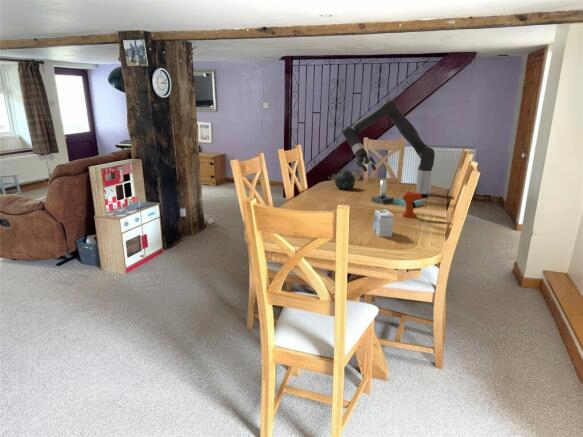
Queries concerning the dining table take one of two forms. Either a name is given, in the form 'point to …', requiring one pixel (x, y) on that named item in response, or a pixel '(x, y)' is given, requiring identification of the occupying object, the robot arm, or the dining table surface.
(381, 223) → the light bulb box
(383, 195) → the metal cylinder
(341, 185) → the squash
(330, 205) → the dining table surface
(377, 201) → the socket block
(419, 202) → the block
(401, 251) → the dining table surface
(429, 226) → the dining table surface
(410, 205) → the toy drill
